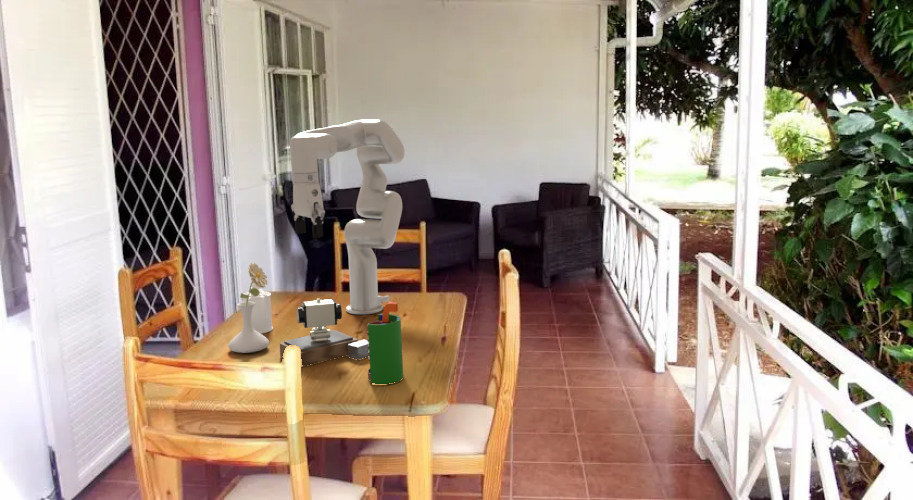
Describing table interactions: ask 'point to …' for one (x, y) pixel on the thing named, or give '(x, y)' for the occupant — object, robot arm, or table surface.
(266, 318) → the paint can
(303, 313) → the pneumatic valve
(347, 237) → the robot arm
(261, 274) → the flower in vase
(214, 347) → the table surface
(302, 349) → the stand
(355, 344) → the grey rectangular block
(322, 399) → the table surface
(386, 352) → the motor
